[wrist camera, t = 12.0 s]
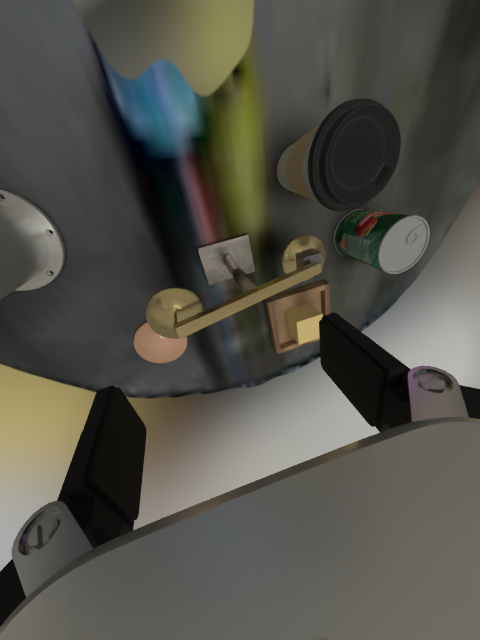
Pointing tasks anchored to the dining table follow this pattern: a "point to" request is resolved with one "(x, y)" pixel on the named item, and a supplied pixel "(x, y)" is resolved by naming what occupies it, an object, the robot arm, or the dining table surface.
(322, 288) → the walnut tray
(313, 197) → the coffee cup
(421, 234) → the canned tomato
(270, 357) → the dining table surface
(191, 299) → the balance
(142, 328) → the terracotta dish
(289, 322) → the ochre block
